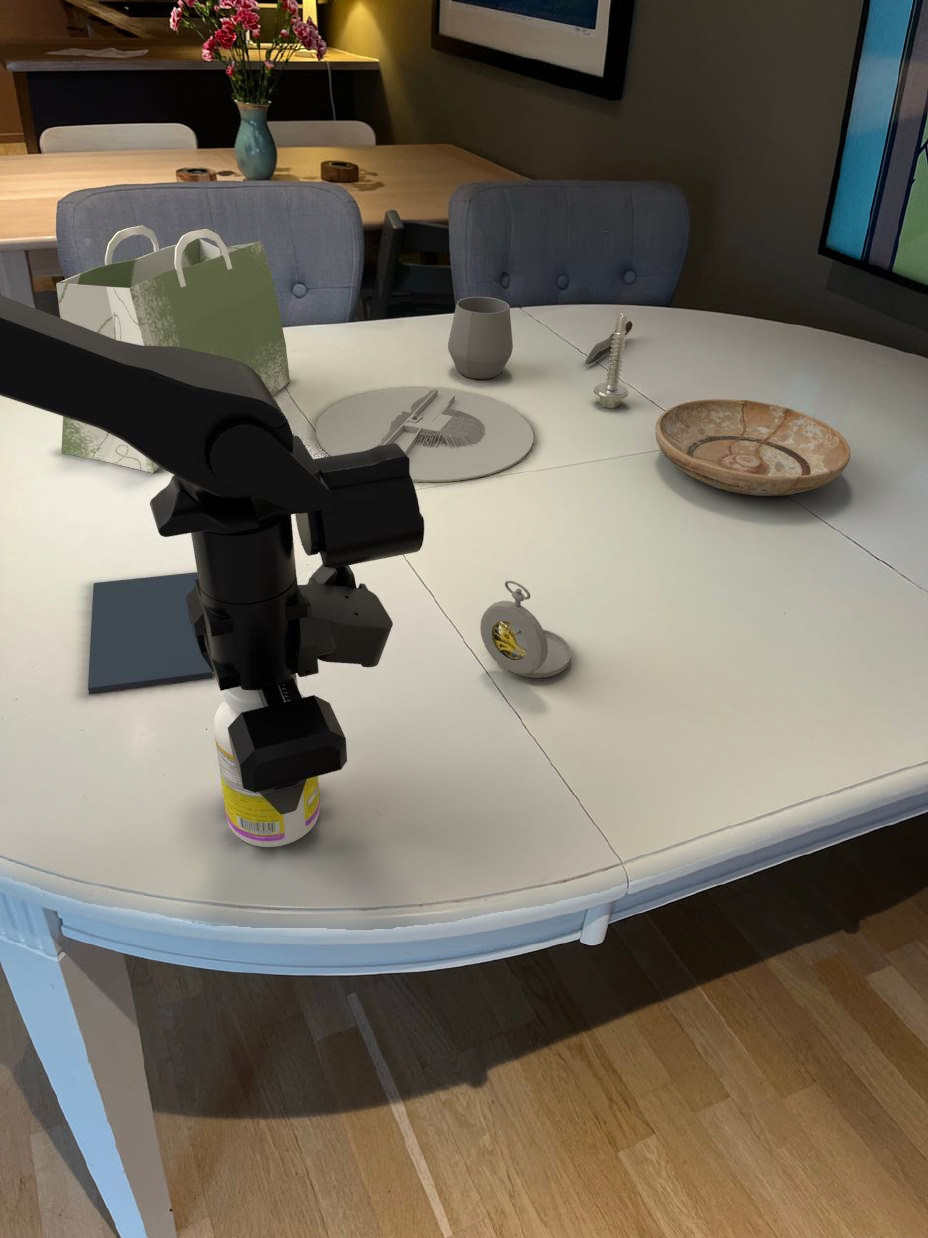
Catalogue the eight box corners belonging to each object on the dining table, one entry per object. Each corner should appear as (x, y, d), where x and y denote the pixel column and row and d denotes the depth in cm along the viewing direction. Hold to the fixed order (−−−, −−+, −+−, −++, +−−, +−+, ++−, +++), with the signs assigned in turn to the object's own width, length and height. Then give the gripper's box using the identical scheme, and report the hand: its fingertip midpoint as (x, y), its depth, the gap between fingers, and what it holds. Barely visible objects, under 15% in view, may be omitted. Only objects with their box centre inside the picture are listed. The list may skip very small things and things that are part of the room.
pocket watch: (570, 640, 88) (583, 547, 82) (569, 698, 81) (583, 602, 76) (482, 631, 89) (489, 538, 83) (474, 689, 82) (480, 592, 76)
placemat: (213, 677, 81) (212, 671, 81) (88, 693, 79) (87, 688, 78) (202, 576, 94) (201, 571, 93) (94, 587, 91) (93, 582, 91)
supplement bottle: (295, 771, 73) (286, 636, 65) (336, 827, 68) (331, 689, 61) (211, 804, 70) (192, 666, 62) (249, 866, 65) (232, 725, 58)
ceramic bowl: (862, 463, 122) (873, 427, 119) (806, 538, 106) (818, 498, 103) (692, 415, 132) (699, 381, 129) (618, 477, 116) (624, 439, 113)
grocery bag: (210, 364, 138) (191, 193, 125) (294, 382, 135) (284, 207, 121) (57, 451, 114) (13, 250, 100) (155, 475, 110) (123, 269, 97)
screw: (625, 413, 132) (590, 409, 132) (627, 399, 135) (593, 395, 136) (640, 319, 124) (603, 315, 125) (641, 308, 128) (605, 304, 128)
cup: (464, 356, 146) (467, 290, 140) (520, 369, 143) (526, 302, 137) (436, 376, 139) (438, 307, 133) (494, 389, 136) (499, 319, 130)
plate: (370, 376, 138) (370, 368, 137) (557, 411, 131) (558, 402, 130) (276, 454, 116) (275, 445, 115) (494, 500, 109) (495, 491, 108)
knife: (587, 371, 144) (590, 352, 142) (578, 369, 144) (580, 350, 142) (633, 338, 157) (636, 320, 155) (624, 336, 157) (627, 318, 156)
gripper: (430, 637, 53) (428, 829, 62) (333, 485, 66) (343, 660, 76) (228, 683, 49) (257, 879, 58) (170, 512, 63) (201, 693, 72)
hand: (271, 765), depth 66 cm, fingers open, 9 cm apart
